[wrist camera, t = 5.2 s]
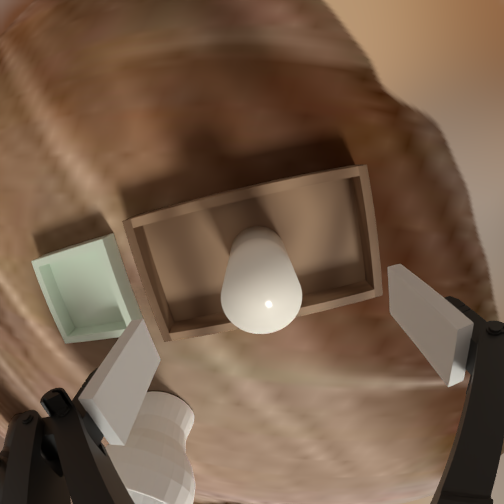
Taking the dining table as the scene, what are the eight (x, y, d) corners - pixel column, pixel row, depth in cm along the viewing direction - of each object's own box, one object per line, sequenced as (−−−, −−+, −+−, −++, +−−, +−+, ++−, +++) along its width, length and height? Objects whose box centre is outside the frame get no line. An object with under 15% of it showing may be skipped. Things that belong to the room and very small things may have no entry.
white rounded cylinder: (237, 282, 28) (232, 340, 19) (225, 232, 27) (211, 270, 17) (289, 271, 28) (307, 324, 18) (278, 220, 27) (294, 251, 17)
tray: (171, 327, 30) (164, 341, 27) (134, 215, 27) (122, 221, 24) (371, 283, 29) (382, 295, 26) (355, 164, 26) (366, 164, 23)
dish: (75, 333, 31) (65, 343, 28) (44, 254, 28) (31, 261, 26) (144, 322, 30) (137, 334, 28) (113, 232, 28) (102, 238, 25)
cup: (116, 414, 34) (79, 498, 20) (139, 367, 32) (93, 467, 17) (185, 447, 36) (169, 535, 21) (220, 406, 33) (209, 512, 19)
